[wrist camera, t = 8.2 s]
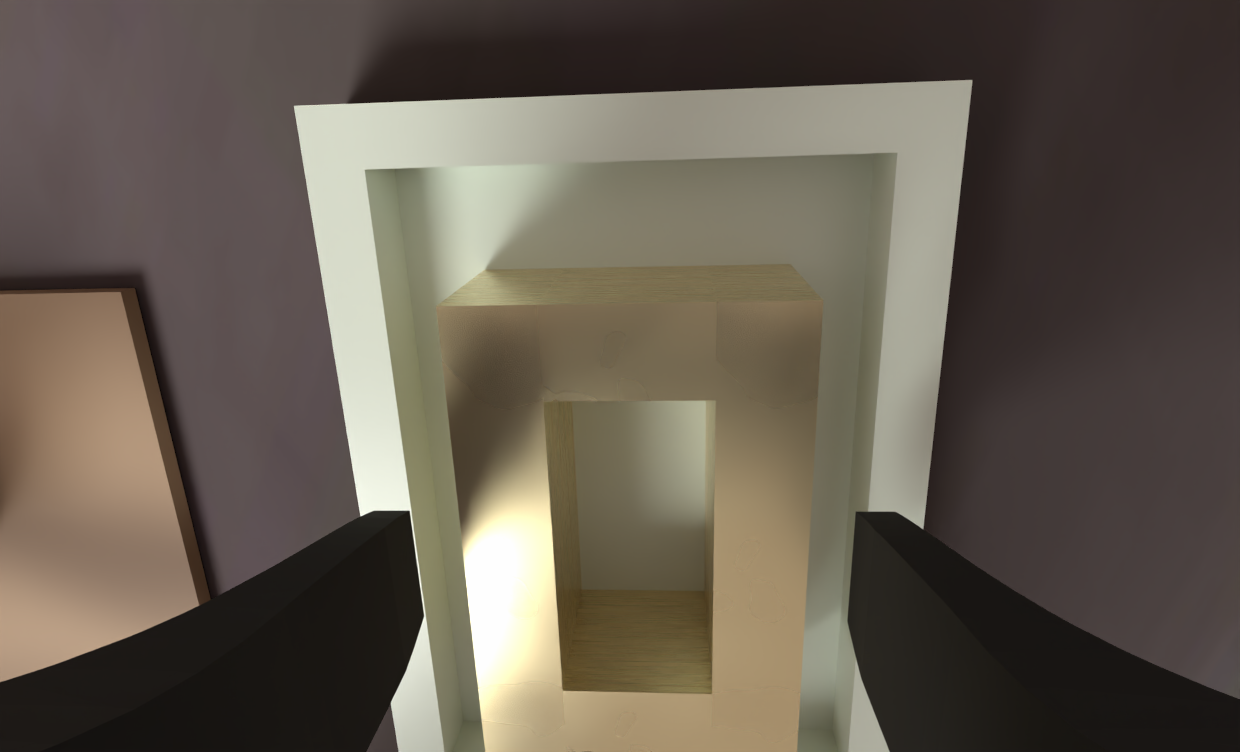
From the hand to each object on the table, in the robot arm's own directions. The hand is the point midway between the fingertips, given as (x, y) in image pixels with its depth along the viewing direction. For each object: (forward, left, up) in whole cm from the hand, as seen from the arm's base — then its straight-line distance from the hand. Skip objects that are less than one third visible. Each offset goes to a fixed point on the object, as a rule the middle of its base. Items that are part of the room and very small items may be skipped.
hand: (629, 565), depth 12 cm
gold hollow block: (0, 0, -3) cm, 3 cm away
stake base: (-1, +15, -4) cm, 15 cm away
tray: (0, 0, -4) cm, 4 cm away
